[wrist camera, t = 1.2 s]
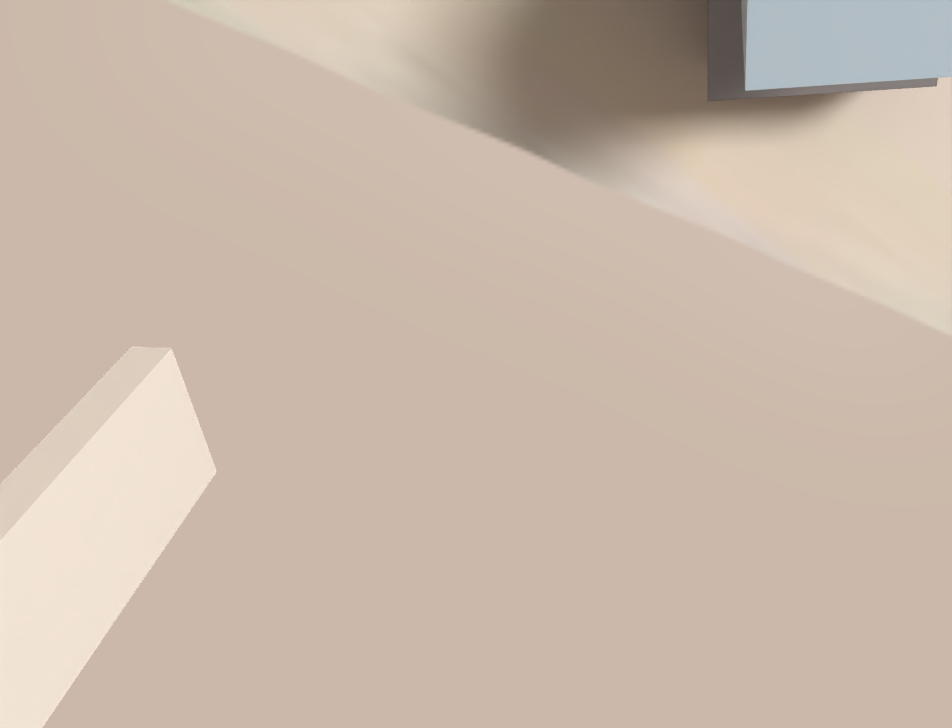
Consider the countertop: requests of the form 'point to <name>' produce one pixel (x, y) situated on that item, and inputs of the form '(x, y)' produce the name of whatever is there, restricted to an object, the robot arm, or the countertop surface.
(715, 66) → the power strip
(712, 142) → the countertop surface
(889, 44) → the block
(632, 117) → the countertop surface
